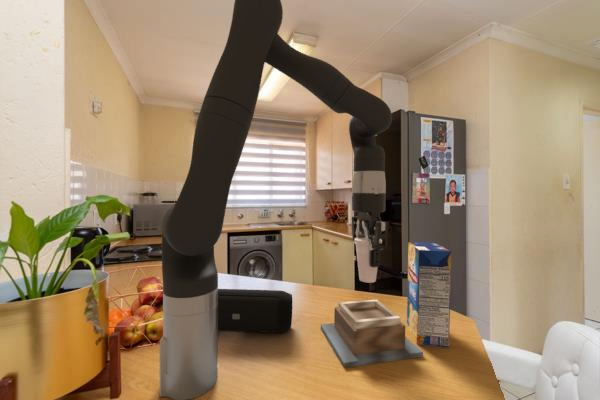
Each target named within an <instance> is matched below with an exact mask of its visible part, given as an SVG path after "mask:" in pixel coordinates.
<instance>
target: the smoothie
mask: <svg viewBox="0 0 600 400" xmlns="http://www.w3.org/2000/svg"><path fill="white" fill-rule="evenodd" d="M353 241H354V242H353V243H354V244H355V251H356V260H357V268H358V269H357V271H358V278H359V279H358V280H359V281H360V282H363V283H369V284H371V283H375V282H377V274H378V268H379V267H371V266H370V265H369V256H370V247H369V241H367V240H366V237H361V238H355V239H354V240H353ZM381 243H382V239H381ZM373 244H374V240H373Z"/></svg>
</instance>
